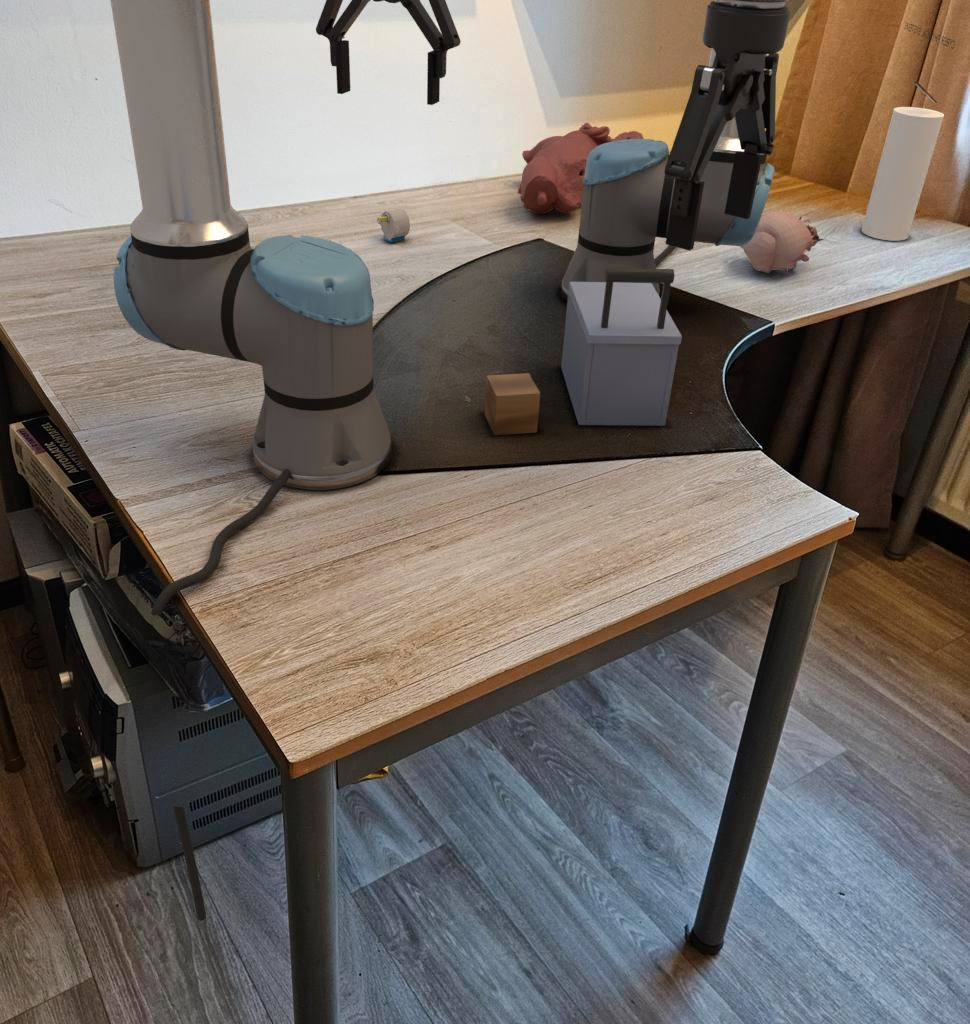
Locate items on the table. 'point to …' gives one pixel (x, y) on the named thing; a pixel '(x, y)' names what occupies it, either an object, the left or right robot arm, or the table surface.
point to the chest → (616, 378)
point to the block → (512, 404)
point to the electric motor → (394, 225)
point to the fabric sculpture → (561, 168)
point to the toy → (780, 241)
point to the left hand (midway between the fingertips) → (388, 97)
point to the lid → (626, 307)
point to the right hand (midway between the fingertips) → (709, 230)
